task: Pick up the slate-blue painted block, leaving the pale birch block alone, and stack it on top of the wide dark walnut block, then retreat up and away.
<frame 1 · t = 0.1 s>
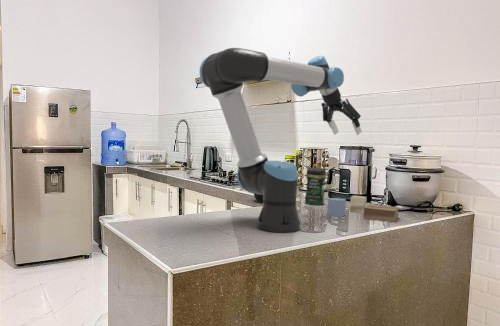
hand: (347, 133, 174), 36 cm above the countertop, tool tilted 35°, fingers open, 13 cm apart
walnut block: (381, 219, 164), on the countertop
slate block: (336, 215, 169), on the countertop
coffee jar: (314, 204, 199), on the countertop
birch block: (358, 212, 179), on the countertop
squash: (267, 202, 200), on the countertop
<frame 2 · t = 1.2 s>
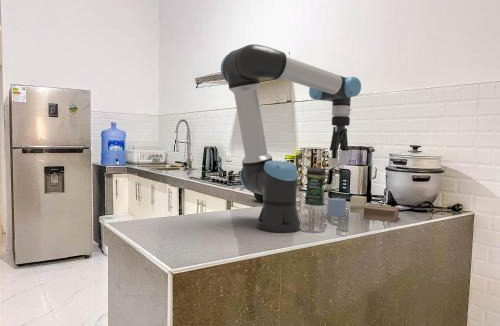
hand: (338, 165, 168), 21 cm above the countertop, tool pointing down, fingers open, 13 cm apart
nothing on the countertop moved.
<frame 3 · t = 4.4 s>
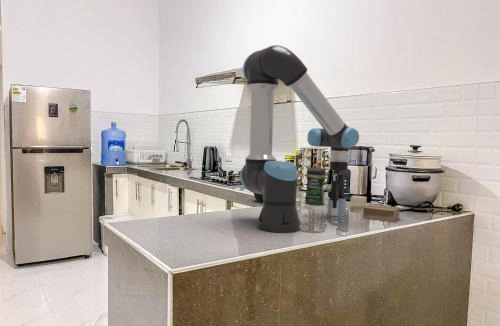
hand: (336, 214, 169), 0 cm above the countertop, tool pointing down, fingers closed on slate block, 6 cm apart
slate block: (336, 215, 169), on the countertop, touching gripper
everything else where it was.
when the fingers open (7 cm above the countertop, at t = 10.9 s): slate block drops 2 cm, point 5 cm above the countertop.
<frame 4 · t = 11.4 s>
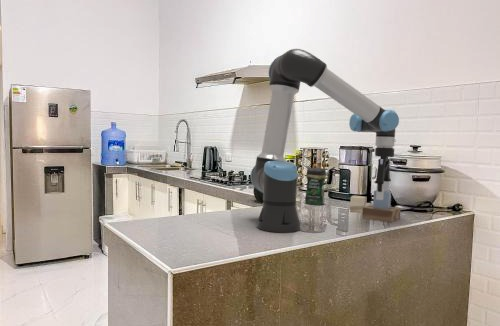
hand: (382, 198, 164), 9 cm above the countertop, tool pointing down, fingers open, 13 cm apart
slate block: (381, 207, 164), point 5 cm above the countertop
everything else where it was.
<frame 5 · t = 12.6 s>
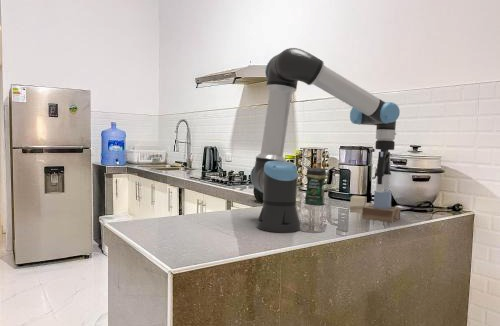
hand: (382, 191, 163), 12 cm above the countertop, tool pointing down, fingers open, 13 cm apart
nothing on the countertop moved.
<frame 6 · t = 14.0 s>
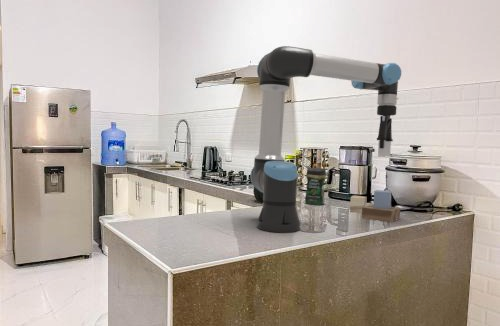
hand: (384, 156, 163), 26 cm above the countertop, tool pointing down, fingers open, 13 cm apart
walnut block: (380, 219, 164), on the countertop, touching slate block
slate block: (382, 207, 164), point 5 cm above the countertop, touching walnut block
everything else where it was.
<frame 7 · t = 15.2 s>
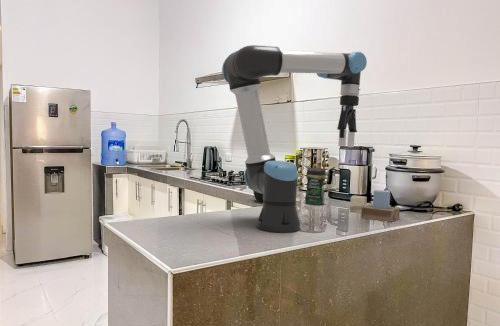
hand: (346, 146, 164), 30 cm above the countertop, tool pointing down, fingers open, 13 cm apart
walnut block: (380, 219, 164), on the countertop
slate block: (381, 207, 164), point 5 cm above the countertop
everything else where it was.
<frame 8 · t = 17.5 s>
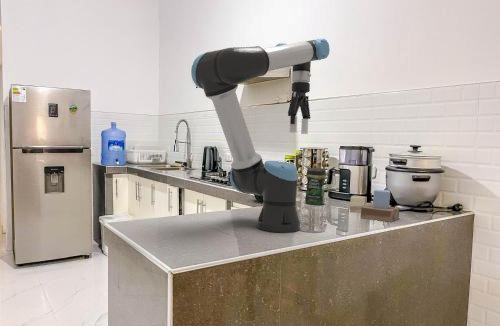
hand: (298, 133, 165), 35 cm above the countertop, tool pointing down, fingers open, 13 cm apart
walnut block: (379, 219, 164), on the countertop, touching slate block
slate block: (381, 207, 164), point 5 cm above the countertop, touching walnut block
everything else where it was.
at the end: slate block inside the target area on the walnut block (0.7 cm from its centre), point 5.0 cm above the walnut block's base; slate block tilted 0°; the gripper is holding nothing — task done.
